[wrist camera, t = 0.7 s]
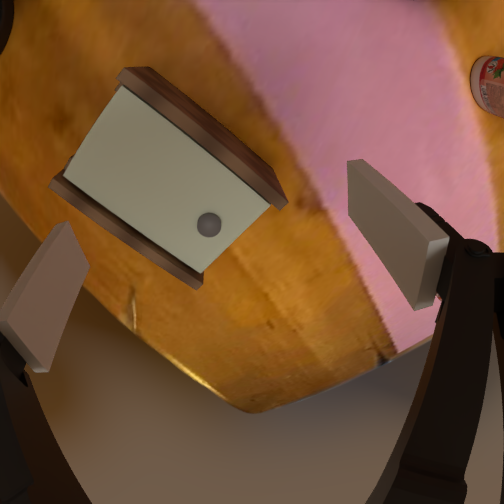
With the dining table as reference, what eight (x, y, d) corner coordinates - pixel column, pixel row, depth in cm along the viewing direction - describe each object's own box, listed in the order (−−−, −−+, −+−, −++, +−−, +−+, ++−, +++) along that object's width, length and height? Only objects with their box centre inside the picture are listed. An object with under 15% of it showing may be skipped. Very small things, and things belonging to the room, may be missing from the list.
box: (83, 157, 36) (48, 187, 27) (148, 66, 31) (124, 67, 22) (200, 243, 44) (196, 290, 36) (273, 169, 39) (288, 202, 31)
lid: (69, 169, 29) (59, 178, 27) (127, 84, 25) (118, 86, 23) (201, 264, 37) (200, 277, 35) (268, 198, 33) (271, 208, 31)
